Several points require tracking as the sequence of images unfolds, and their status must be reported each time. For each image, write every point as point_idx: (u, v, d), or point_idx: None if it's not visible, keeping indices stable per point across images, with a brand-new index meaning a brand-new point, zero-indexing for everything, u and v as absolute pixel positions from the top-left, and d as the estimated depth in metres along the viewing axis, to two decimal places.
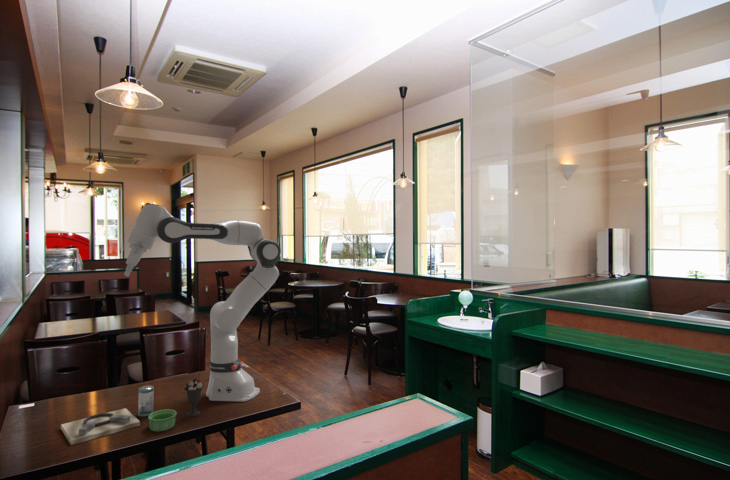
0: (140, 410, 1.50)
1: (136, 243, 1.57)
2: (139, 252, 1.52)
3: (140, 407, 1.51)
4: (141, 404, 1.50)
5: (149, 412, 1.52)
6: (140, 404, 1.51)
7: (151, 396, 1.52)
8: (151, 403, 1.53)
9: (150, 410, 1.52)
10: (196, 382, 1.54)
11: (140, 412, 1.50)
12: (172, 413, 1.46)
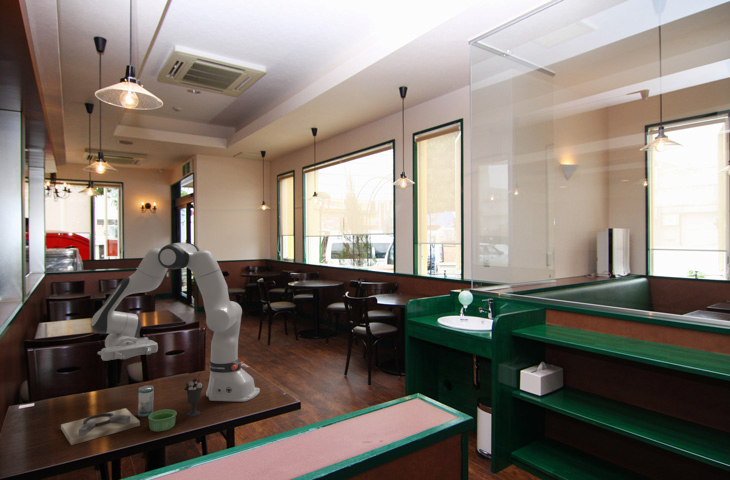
0: (140, 410, 1.50)
1: None
2: (101, 350, 1.61)
3: (140, 407, 1.51)
4: (141, 404, 1.50)
5: (149, 412, 1.52)
6: (140, 404, 1.51)
7: (151, 396, 1.52)
8: (151, 403, 1.53)
9: (150, 410, 1.52)
10: (196, 382, 1.54)
11: (140, 412, 1.50)
12: (172, 413, 1.46)
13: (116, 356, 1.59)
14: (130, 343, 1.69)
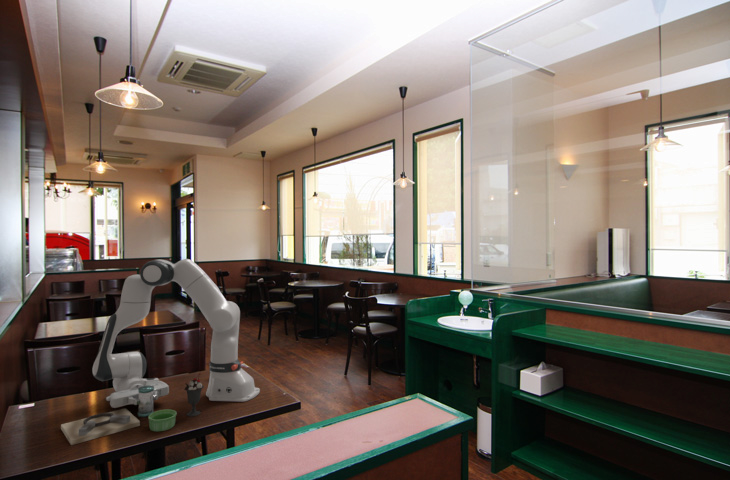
0: (140, 410, 1.50)
1: None
2: (110, 396, 1.52)
3: (140, 407, 1.51)
4: (141, 404, 1.50)
5: (149, 412, 1.52)
6: (140, 404, 1.51)
7: (151, 396, 1.52)
8: (151, 403, 1.53)
9: (150, 410, 1.52)
10: (196, 382, 1.54)
11: (140, 412, 1.50)
12: (172, 413, 1.46)
13: (130, 402, 1.51)
14: (140, 386, 1.60)
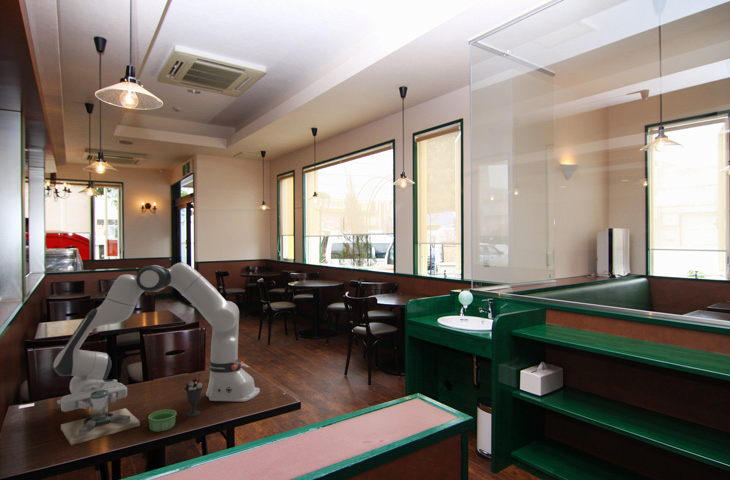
0: (93, 417, 1.41)
1: None
2: (61, 399, 1.42)
3: (92, 413, 1.41)
4: (94, 411, 1.41)
5: (103, 419, 1.42)
6: (92, 410, 1.41)
7: (105, 402, 1.42)
8: (105, 409, 1.43)
9: (104, 416, 1.42)
10: (196, 382, 1.54)
11: (93, 419, 1.41)
12: (172, 413, 1.46)
13: (80, 406, 1.41)
14: (96, 388, 1.50)
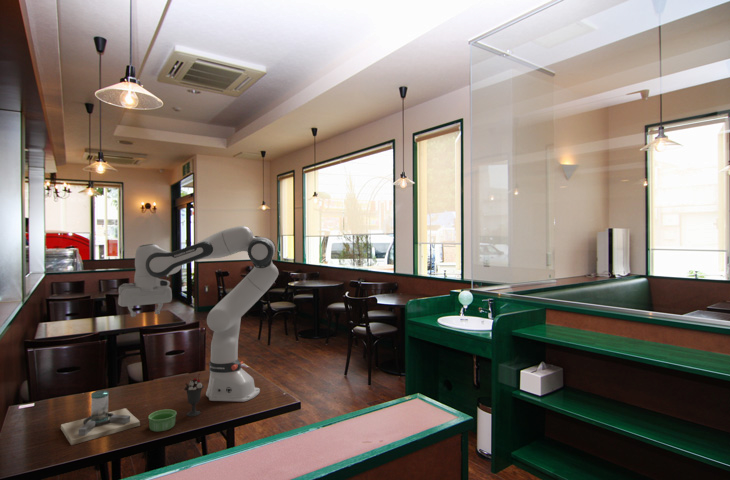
0: (93, 417, 1.41)
1: None
2: (121, 293, 1.63)
3: (93, 413, 1.41)
4: (94, 411, 1.41)
5: (103, 419, 1.42)
6: (93, 410, 1.41)
7: (105, 402, 1.43)
8: (106, 409, 1.43)
9: (104, 417, 1.42)
10: (196, 382, 1.54)
11: (93, 419, 1.41)
12: (172, 413, 1.46)
13: (129, 309, 1.66)
14: (150, 290, 1.70)
